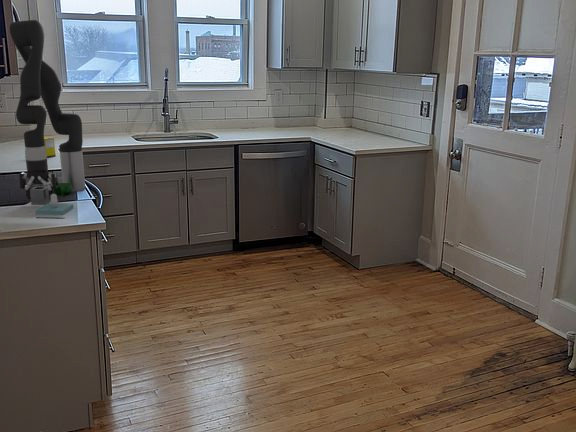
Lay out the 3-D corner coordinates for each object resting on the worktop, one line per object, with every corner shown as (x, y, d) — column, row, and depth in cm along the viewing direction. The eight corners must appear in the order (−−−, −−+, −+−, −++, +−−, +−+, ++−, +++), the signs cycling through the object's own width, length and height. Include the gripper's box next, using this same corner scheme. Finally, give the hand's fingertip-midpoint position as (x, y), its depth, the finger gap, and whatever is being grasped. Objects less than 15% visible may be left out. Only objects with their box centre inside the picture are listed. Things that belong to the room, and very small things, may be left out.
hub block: (48, 211, 227) (46, 190, 225) (74, 211, 227) (72, 190, 225) (36, 218, 218) (33, 196, 216) (63, 218, 217) (61, 197, 215)
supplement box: (50, 155, 349) (48, 136, 346) (56, 156, 345) (54, 137, 343) (40, 156, 345) (38, 137, 342) (46, 157, 341) (44, 138, 338)
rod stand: (34, 203, 239) (33, 187, 237) (59, 203, 238) (57, 187, 237) (23, 209, 229) (21, 193, 228) (48, 210, 229) (46, 193, 227)
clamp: (48, 209, 247) (36, 191, 243) (51, 202, 253) (39, 185, 248) (75, 198, 247) (63, 180, 242) (76, 191, 252) (65, 174, 247)
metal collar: (37, 201, 236) (35, 186, 235) (50, 201, 236) (49, 186, 234) (31, 204, 231) (29, 189, 229) (45, 204, 231) (43, 189, 229)
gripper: (58, 156, 232) (62, 197, 236) (22, 156, 233) (27, 196, 237) (50, 160, 225) (54, 201, 229) (13, 159, 225) (18, 201, 230)
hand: (40, 199), depth 233 cm, fingers open, 8 cm apart
